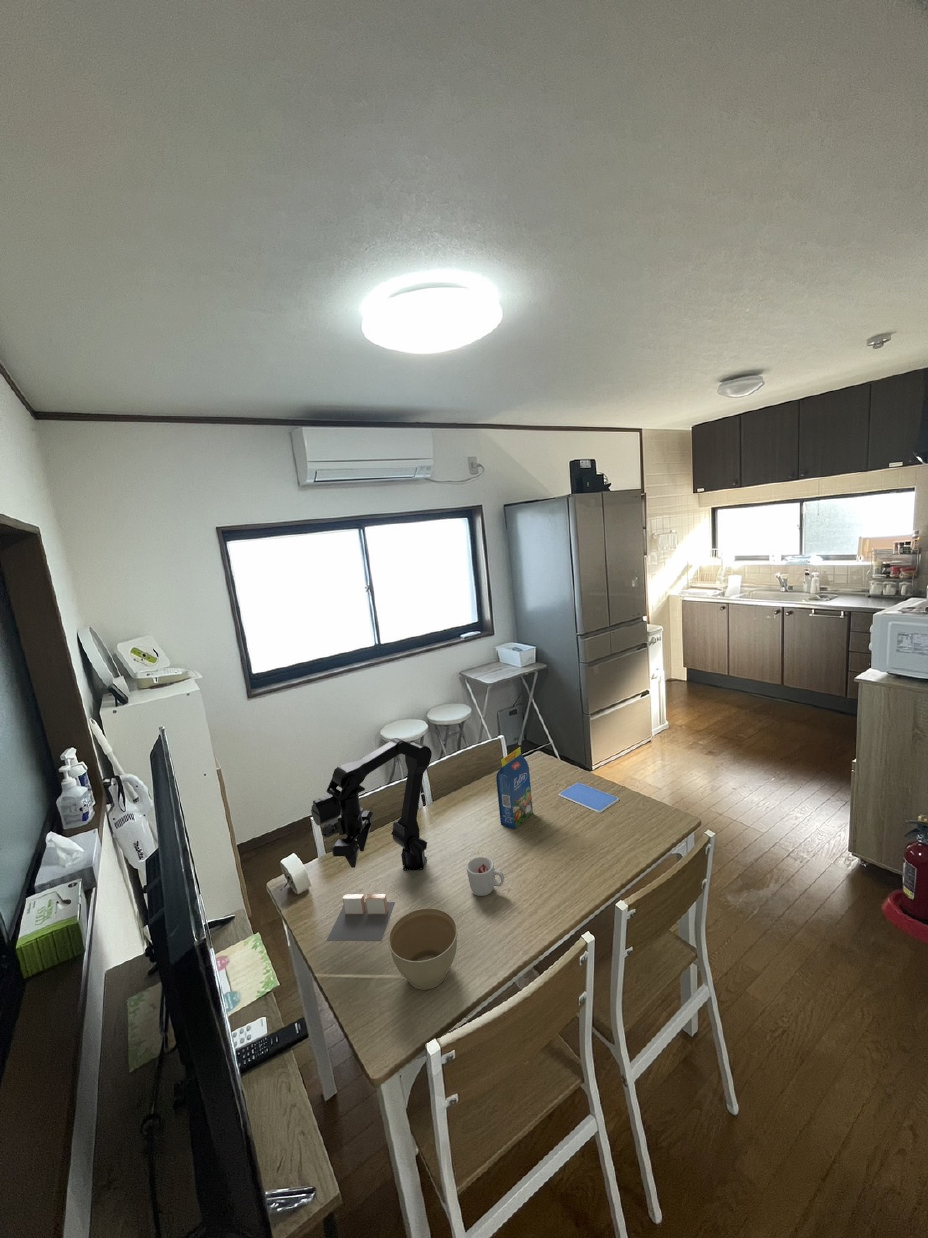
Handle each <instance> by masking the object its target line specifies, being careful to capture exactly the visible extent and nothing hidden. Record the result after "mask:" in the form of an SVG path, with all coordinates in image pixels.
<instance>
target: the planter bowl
mask: <svg viewBox="0 0 928 1238" xmlns="http://www.w3.org/2000/svg"><path fill="white" fill-rule="evenodd" d="M457 946H458V926H457V923H456V921H455V919H454V917H453V916H452V915H450V914H449V913H448V912H446V911H445V910H442V909H439V908H434V907H433V908H432V907H425V908H424V907H423V908H418V909H415V910H412V911H410V912H408V913H406V914H404V915H402V916H401V917H399V919H398V920H396V922H394V924H393V925H392V927H391V928H390V930H389V934H388V947H389V950H390V952H391V957H392V961H393V963H394V965H395V967H396V969H397V970H398V972H399V973H400V974H401V976H403V978H405V980H407V981H408V983H409V984H410V985H411V986H412V987H414V989H418V990H422V991H425V990H431V989H434V988H436V987H439V985H441V983H443V981H445V979H446V977H447V974H448V972H449V970H450V968H451V967H452V964H453V963H454V959H455V957H456V954H457Z"/></svg>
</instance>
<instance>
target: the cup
mask: <svg viewBox="0 0 928 1238" xmlns="http://www.w3.org/2000/svg"><path fill="white" fill-rule="evenodd" d="M465 867H466V868H465V869H466V873H467V877H468V882H469V887H470V889H471V892H472V893H473V894H474V895H475V896H479V897H485V896H487V895H490V894H491V893H492V892H493V889H494V887H501V886H502V885H503V884H504V883H505V875H504V873H503V871H501V870H498V869H496V868H495V865H494V862H493V860H492V859H491V858H489V857H487V856H486V857H485V856H477V857H474V858H472V859H469V861H468V862H467V863H466V866H465ZM496 876H499V878H500V881H498V880H496Z"/></svg>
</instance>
